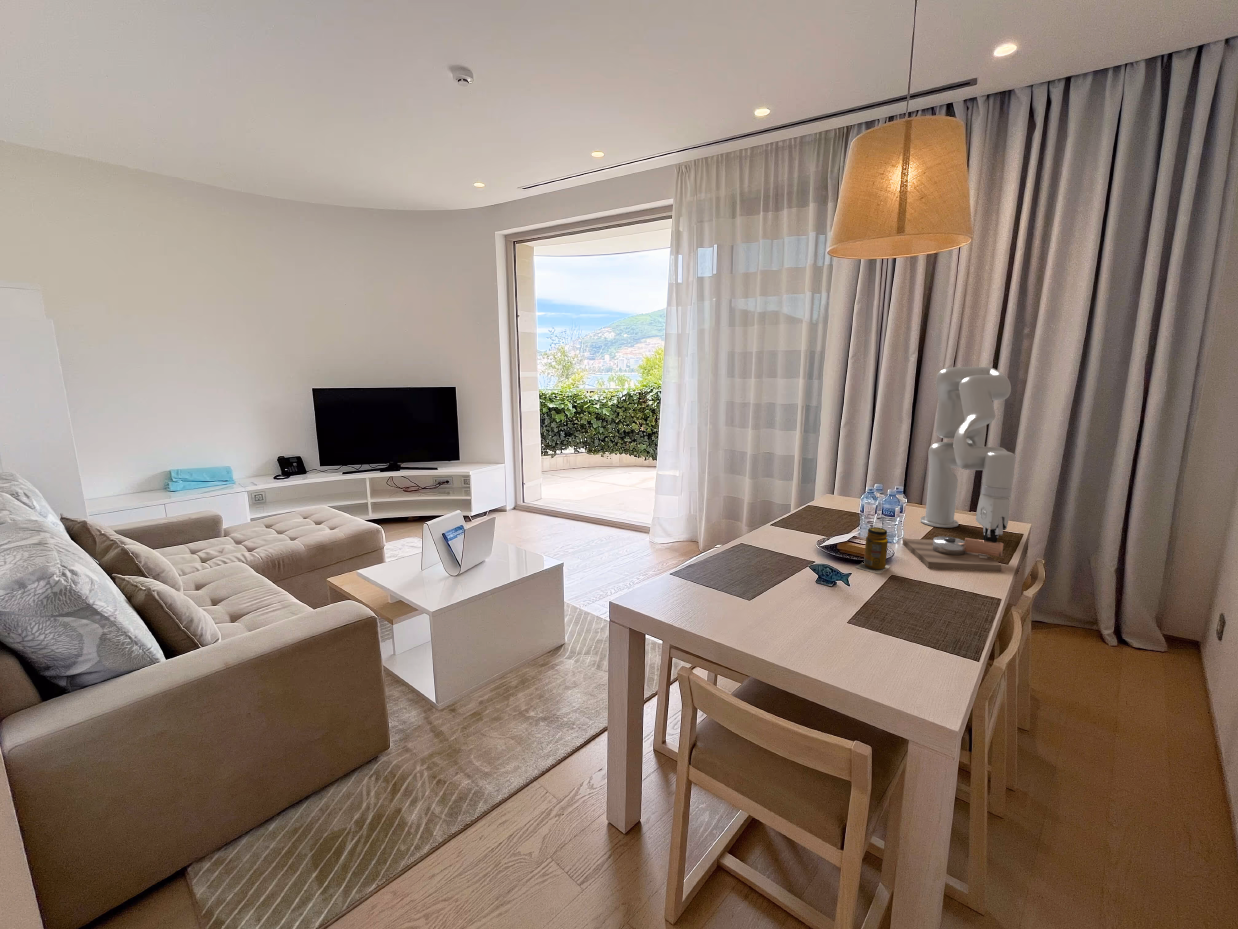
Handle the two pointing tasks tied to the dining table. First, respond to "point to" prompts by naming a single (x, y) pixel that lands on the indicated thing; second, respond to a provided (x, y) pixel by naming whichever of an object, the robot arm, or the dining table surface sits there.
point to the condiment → (875, 551)
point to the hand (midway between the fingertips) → (989, 548)
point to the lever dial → (966, 546)
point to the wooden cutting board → (949, 557)
